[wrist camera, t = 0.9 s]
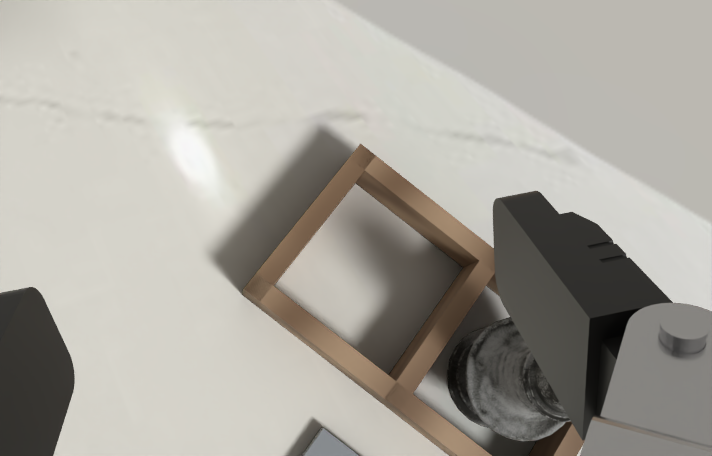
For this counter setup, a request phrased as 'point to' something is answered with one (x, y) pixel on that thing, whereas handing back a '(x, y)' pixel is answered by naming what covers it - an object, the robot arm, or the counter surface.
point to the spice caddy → (398, 387)
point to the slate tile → (327, 446)
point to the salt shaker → (503, 384)
